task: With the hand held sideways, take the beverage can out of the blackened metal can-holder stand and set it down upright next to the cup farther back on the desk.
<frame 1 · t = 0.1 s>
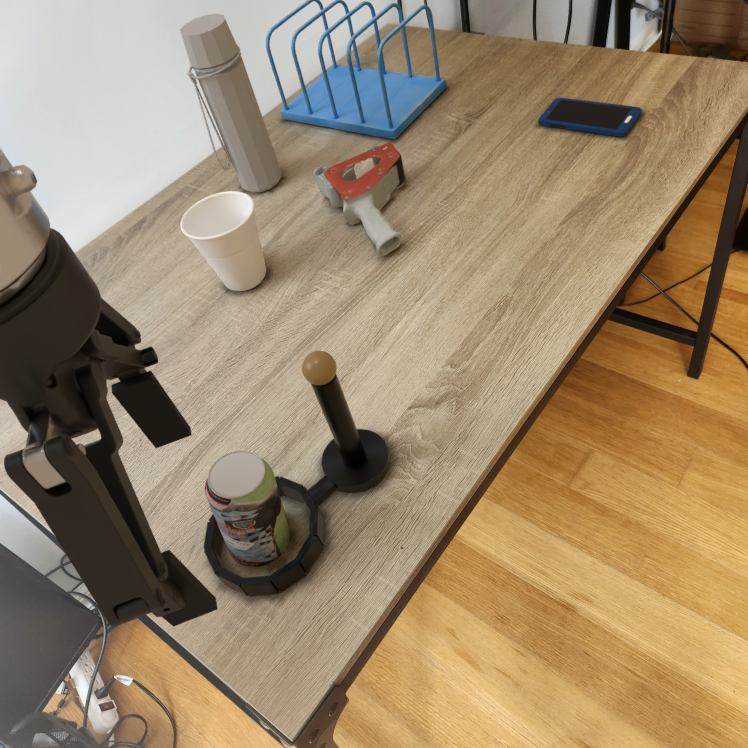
hand: (183, 516, 43), 21 cm above the table, tool pointing down, fingers open, 13 cm apart
beverage can: (269, 540, 64), resting in can holder
cup: (246, 278, 91), on the table
file sorter: (363, 106, 117), on the table
can holder: (269, 539, 64), on the table
cell phone: (588, 119, 100), on the table
water bottle: (258, 185, 107), on the table
tape dispenser: (367, 211, 96), on the table
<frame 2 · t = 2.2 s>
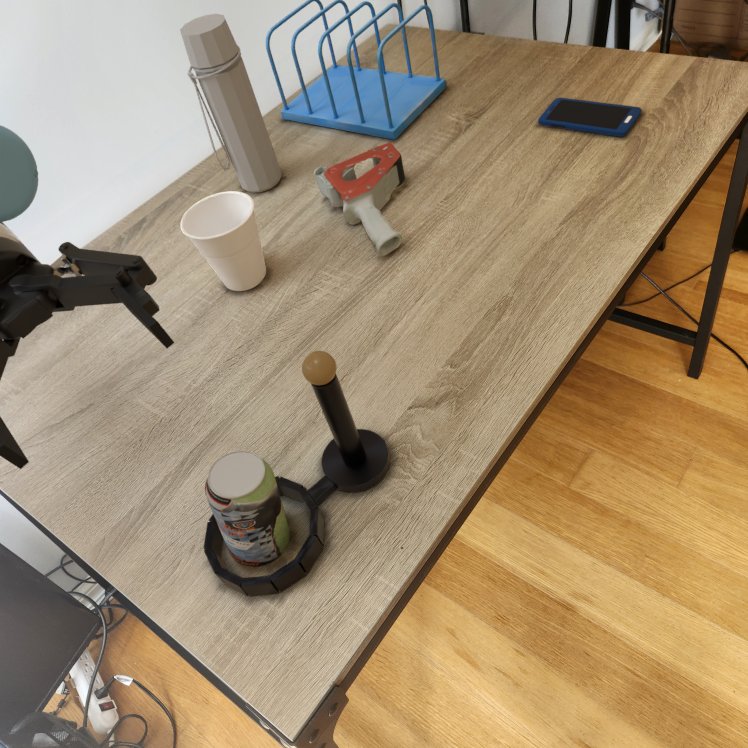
hand: (90, 394, 48), 23 cm above the table, tool horizontal, fingers open, 13 cm apart
nothing on the table moved.
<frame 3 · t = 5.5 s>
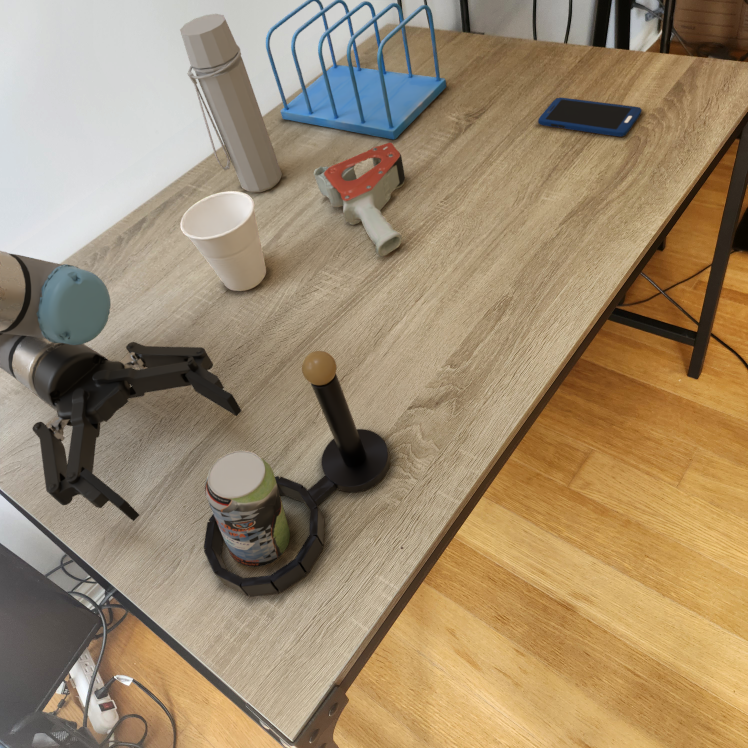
hand: (184, 456, 61), 9 cm above the table, tool horizontal, fingers open, 13 cm apart
nothing on the table moved.
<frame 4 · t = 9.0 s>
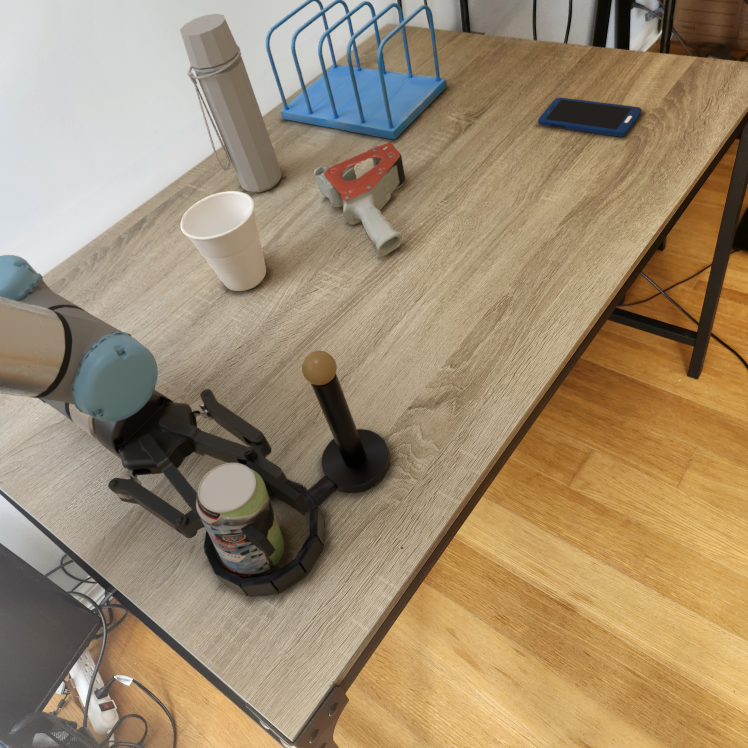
hand: (285, 525, 55), 8 cm above the table, tool horizontal, fingers open, 4 cm apart
beverage can: (264, 551, 63), resting in can holder, touching gripper
everything else where it was.
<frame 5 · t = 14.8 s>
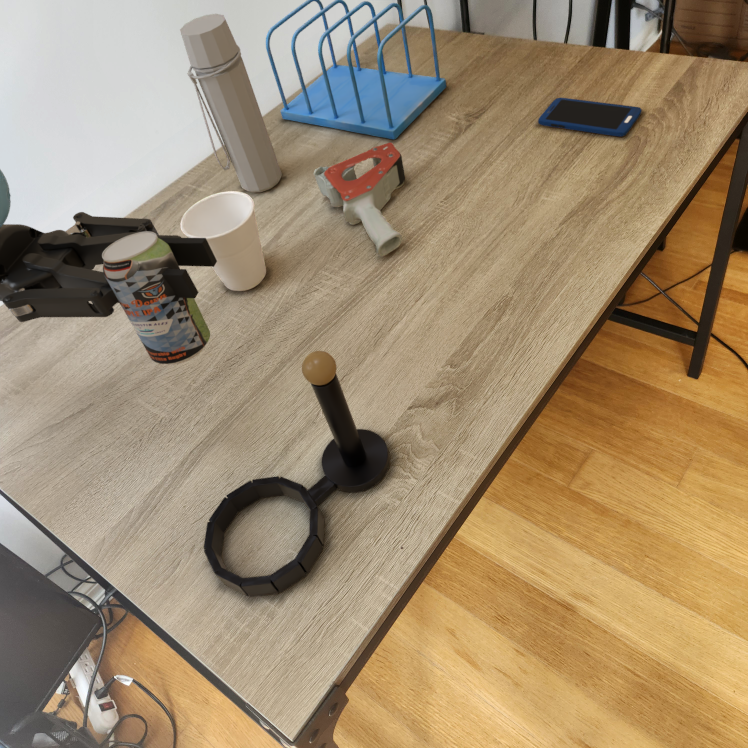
hand: (199, 267, 57), 22 cm above the table, tool horizontal, fingers closed on beverage can, 3 cm apart
beverage can: (192, 348, 63), point 14 cm above the table, touching gripper
everything else where it was.
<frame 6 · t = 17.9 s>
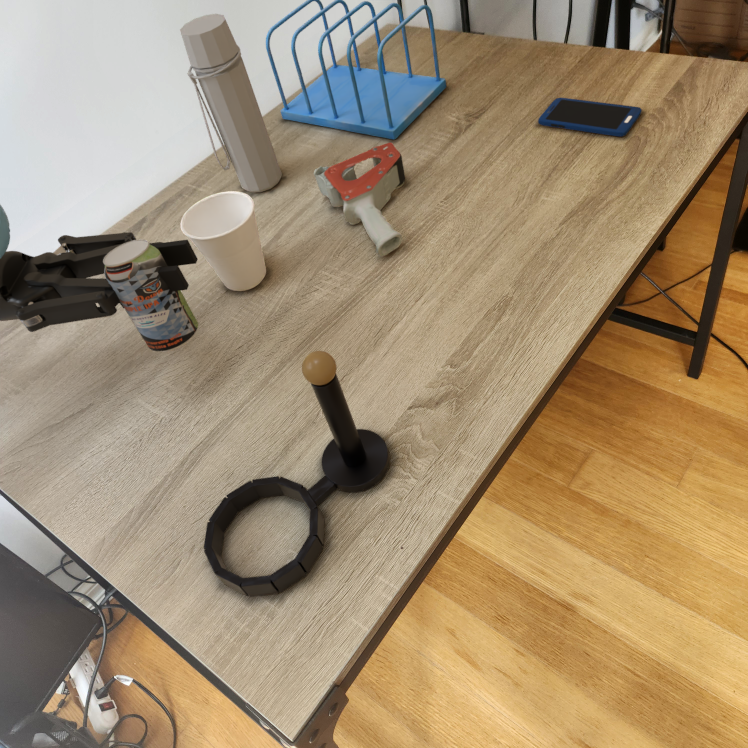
hand: (186, 264, 68), 16 cm above the table, tool horizontal, fingers closed on beverage can, 3 cm apart
beverage can: (182, 337, 74), point 8 cm above the table, touching gripper
everything else where it was.
when the fingers open (9 cm above the table, at t = 20.1 s): beverage can stays where it is, on the table.
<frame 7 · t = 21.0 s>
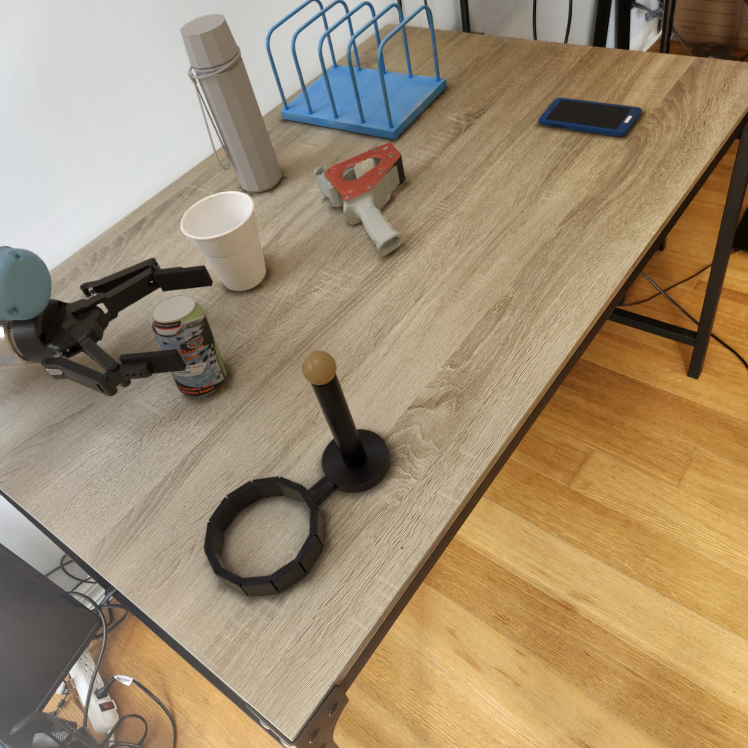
hand: (195, 315, 74), 9 cm above the table, tool horizontal, fingers open, 13 cm apart
beverage can: (209, 381, 80), on the table
everything else where it was.
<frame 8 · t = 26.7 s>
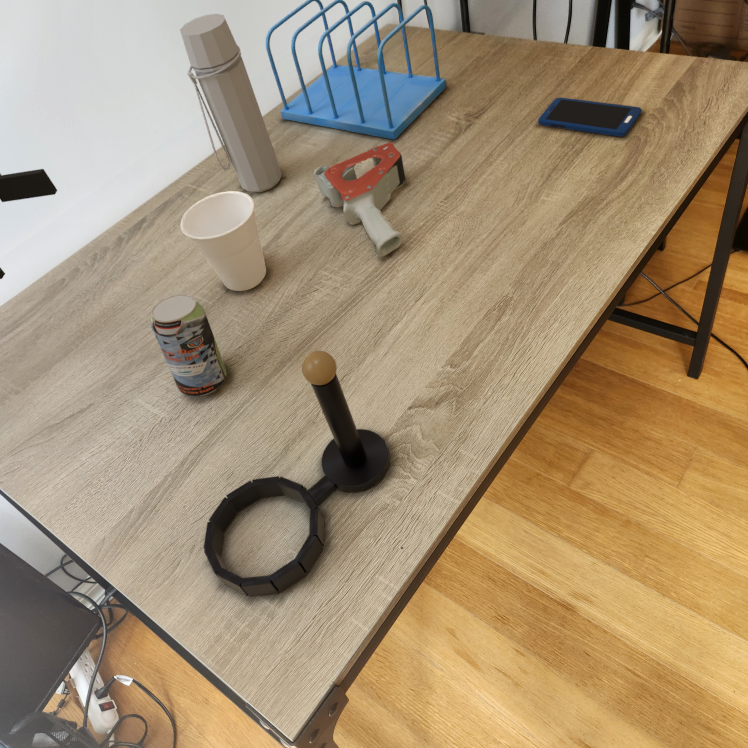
hand: (24, 220, 65), 24 cm above the table, tool horizontal, fingers open, 13 cm apart
nothing on the table moved.
at the end: beverage can 18.5 cm from the cup (horizontally); beverage can touching table; beverage can tilted 0° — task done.
